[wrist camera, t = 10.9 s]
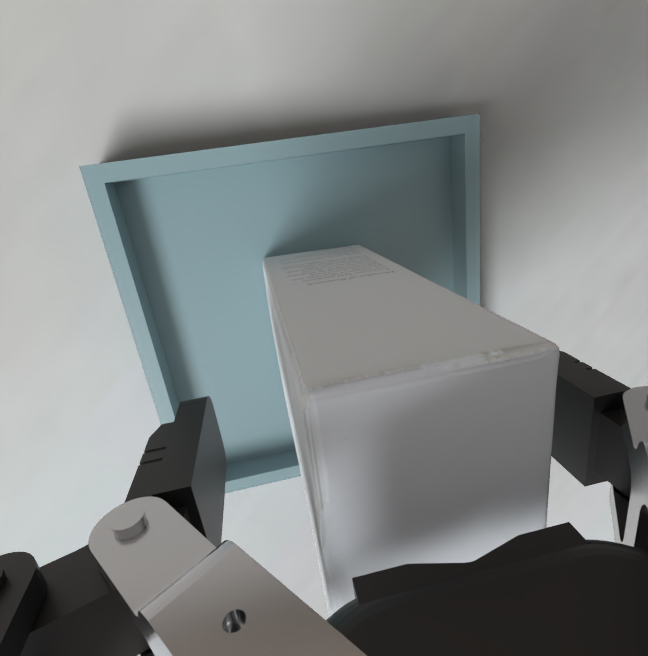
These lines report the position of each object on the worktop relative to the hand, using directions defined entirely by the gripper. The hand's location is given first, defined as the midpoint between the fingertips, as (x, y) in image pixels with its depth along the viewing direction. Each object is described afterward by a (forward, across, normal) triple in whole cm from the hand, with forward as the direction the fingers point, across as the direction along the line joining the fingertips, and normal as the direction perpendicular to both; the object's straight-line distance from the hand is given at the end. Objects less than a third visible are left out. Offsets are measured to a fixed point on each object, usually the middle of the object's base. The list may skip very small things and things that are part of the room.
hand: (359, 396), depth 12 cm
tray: (+8, 0, 0) cm, 8 cm away
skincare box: (+7, 0, 0) cm, 7 cm away
